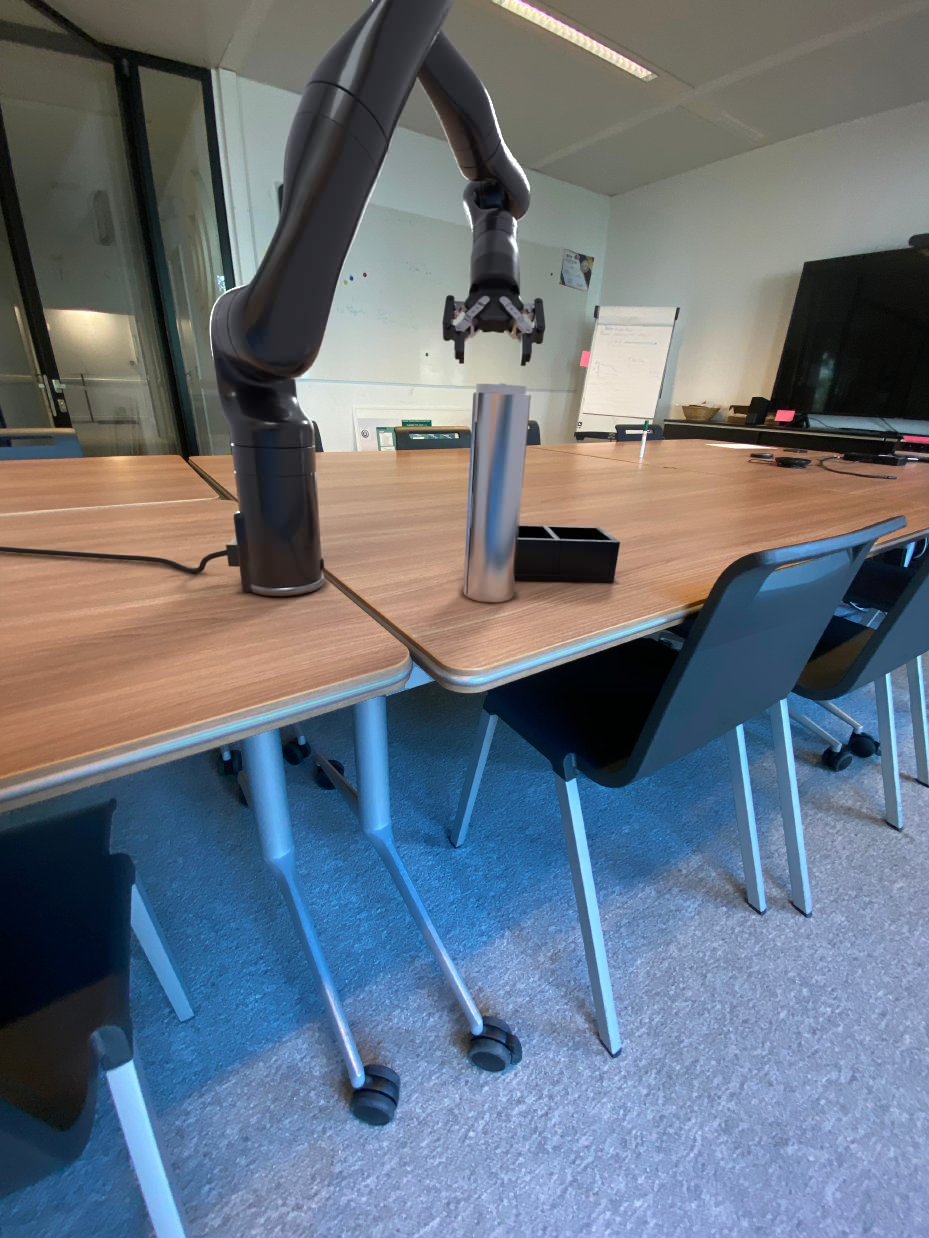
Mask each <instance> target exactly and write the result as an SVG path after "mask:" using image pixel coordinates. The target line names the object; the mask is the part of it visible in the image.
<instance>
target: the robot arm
mask: <svg viewBox="0 0 929 1238" xmlns="http://www.w3.org/2000/svg"><path fill="white" fill-rule="evenodd" d="M455 2H456V0H371V2H370V4H369V5H368V6H367V8H365V10H364V11H363V12H362V13H361V14H360V15H359V16H358V18H356V19H355V21H353V22H352V24H351V25H350V26H349V27H348V28H347V29H346V30H345V31H344V32H343V33H342V34H341V35H340V36H339V37H338V38H337V39H336V41H335V42H334V43H333V44H332V45H331V46H330V47H329V48H328V50H327V51H326V52H325V53H324V55H323V56H322V57H321V58H320V60H319V61H318V62H317V64H316V65H315V67H314V69H313V70H312V72H311V73H310V75H309V78H308V80H307V82H306V84H305V86H304V90H303V93H302V96H301V98H300V101H299V103H298V106H297V109H296V111H295V115H294V117H293V120H292V123H291V126H290V129H289V133H288V136H287V141H286V145H285V151H284V159H283V174H282V175H283V180H282V184H283V185H282V201H281V202H282V204H281V209H280V214H279V218H278V222H277V225H276V228H275V231H274V233H273V235H272V238H271V241H270V243H269V244H268V247H267V249H266V251H265V254H264V256H263V258H262V260H261V262H260V265H259V266H258V268H257V270H256V272H255V274H254V275H253V277H252V278H251V280H250V281H249V282H248V283H247V284H243V285H240V286H237V287H234V288H231V289H229V290H227V291H225V292H224V293H223V294H221V295H220V296H219V297H218V298H217V300H216V302H215V303H214V305H213V308H212V310H211V314H210V320H209V336H210V347H211V355H212V363H213V369H214V375H215V381H216V389H217V393H218V394H217V395H218V401H219V405H220V410H221V413H222V417H223V419H224V420H225V423H226V425H227V428H228V433H229V439H230V443H231V444H230V446H231V448H230V449H231V456H232V464H233V465H232V466H233V471H234V480H235V488H236V489H235V490H236V498H237V506H238V507H237V508H238V511H236V512H234V514H233V524H234V533H235V537H234V538H233V539H231V540H230V541H229V542H227V543H226V544H225V549H224V550H219V551H215V552H212V553H210V554H207V555H206V556H204V557H203V558H202V559H201V561H200V563H199V565H198V566H197V567H193V568H192V567H188V566H185V565H183V564H180V563H178V562H176V561H173V560H171V559H168V558H162V557H156V556H147V555H134V554H133V555H131V554H114V553H113V554H112V553H100V552H82V551H67V550H56V549H55V550H53V549H39V548H38V549H37V548H25V547H11V546H0V552H1V553H3V552H4V553H14V554H16V553H17V554H27V555H28V554H29V555H44V556H56V557H57V556H58V557H59V556H60V557H74V558H87V559H105V560H117V561H118V560H119V561H139V562H150V563H158V564H159V563H160V564H164V565H167V566H169V567H170V566H171V567H173V568H175V569H177V570H180V571H183V572H186V573H189V574H199V573H201V572H203V571H204V570H205V568H206V565H207V563H209V562H210V561H212V560H214V559H217V558H221V557H226V556H227V557H226V558H227V566H228V567H235V568H236V567H238V568H239V575H240V582H241V591H242V592H250V593H254V594H256V595H261V596H267V597H291V596H298V595H299V596H300V595H304V594H308V593H312V592H314V591H317V590H318V589H320V588H321V587H322V586H323V585H324V583H325V580H324V573H323V571H324V570H325V560H324V558H323V557H322V541H321V526H320V525H321V524H320V508H319V507H320V506H319V494H318V493H319V492H318V491H319V490H318V475H317V457H316V442H315V441H316V439H315V437H316V436H315V428H314V423H313V421H312V420H311V418H309V417H308V415H307V414H306V413H305V411H304V409H303V408H302V406H301V403H300V401H299V397H298V390H297V388H298V387H297V380H296V379H298V378H300V377H302V376H303V375H305V374H306V373H307V372H308V371H309V370H310V369H311V368H312V367H313V365H314V364H315V362H316V360H317V359H318V356H319V353H320V351H321V348H322V346H323V343H324V338H325V336H326V335H325V334H326V331H327V328H328V324H329V319H330V315H331V311H332V307H333V305H334V301H335V297H336V293H337V288H338V285H339V283H340V278H341V275H342V272H343V269H344V266H345V263H346V260H347V257H348V255H349V253H350V251H351V248H352V246H353V243H354V241H355V239H356V236H357V234H358V231H359V229H360V225H361V223H362V221H363V217H364V215H365V212H366V210H367V207H368V205H369V203H370V200H371V197H372V195H373V193H374V191H375V188H376V186H377V183H378V181H379V178H380V175H381V173H382V170H383V167H384V164H385V162H386V159H387V157H388V154H389V151H390V149H391V145H392V143H393V139H394V137H395V133H396V131H397V128H398V126H399V123H400V120H401V118H402V116H403V114H404V111H405V108H406V106H407V103H408V101H409V99H410V97H411V93H412V92H413V89H414V86H415V84H416V81H418V82H419V85H420V86H421V88H422V89H423V91H424V93H425V94H426V97H427V98H428V101H429V102H430V104H431V106H432V108H433V110H434V112H435V114H436V117H437V119H438V121H439V123H440V125H441V128H442V130H443V132H444V135H445V137H446V140H447V144H448V145H449V148H450V150H451V153H452V155H453V158H454V160H455V163H456V166H457V168H458V170H459V171H460V172H459V173H460V174H461V175H462V176H463V177H464V178H465V179H466V180H467V181H469V182H468V183H467V184H466V186H465V187H464V190H463V193H462V198H461V199H462V200H461V201H462V208H463V212H464V216H465V218H466V220H467V221H466V222H467V223H468V226H469V227H470V230H471V231H470V232H471V253H470V257H469V264H468V265H469V267H468V268H469V269H468V288H467V289H468V290H467V298H466V299H465V300H464V301H462V300H456V298H455V295H452V294H448V295H447V296H446V297H445V302H444V308H443V309H444V310H443V315H442V339H443V341H445V342H450V341H453V342H454V345H453V351H454V352H453V356H454V357H453V358H454V359H455V360H456V361H458V364H459V365H465V354H466V353H465V352H466V351H465V349H466V341H467V340H468V339H473V338H474V337H475V336H476V335H477V334H479V332H480V331H481V333H492V332H493V333H498V334H504V333H505V332H506V333H507V334H508V335H509V336H510V338H511V339H512V340H516V341H517V342H518V343H519V344H520V350H519V351H520V352H519V354H520V355H519V357H520V360H519V363H520V367H526V366H527V363H530V361H531V359H532V353H533V344H534V343H535V344H536V345H542V344H543V342H544V335H545V331H546V320H545V309H544V300H543V299H542V298H540V297H536V298H535V299H534V300H533V302H531V303H524V302H523V300H522V298H521V258H520V253H519V226H518V223H517V222H519V221H520V220H522V219H523V218H524V217H525V216H526V215H527V213H528V211H529V209H530V206H531V198H532V197H531V189H530V188H531V187H530V184H529V181H528V179H527V176H526V174H525V172H524V171H523V169H522V167H521V165H520V164H519V162H518V161H517V160H516V158H515V157H514V156H513V154H512V153H511V151H510V150H509V148H508V146H507V145H506V143H505V141H504V139H503V137H502V132H501V129H500V127H499V123H498V120H497V117H496V112H495V109H494V106H493V103H492V100H491V97H490V95H489V93H488V91H487V88H486V86H485V85H484V83H483V81H482V80H481V79H480V77H479V75H478V74H477V72H476V71H475V69H474V68H473V67H472V66H471V64H470V63H469V62H468V61H467V59H466V58H465V57H464V56H463V54H462V53H461V52H460V51H459V49H457V47H456V46H455V45H454V43H453V42H452V41H451V39H450V38H449V37H448V35H447V34H446V33H445V31H444V29H443V28H442V27H443V26H444V24H445V21H446V20H447V18H448V16H449V14H450V12H451V10H452V8H453V7H454V4H455ZM461 313H464V317H463V318H462V319H461V320H460V321H459V322H458V323H457V324H454V322H455V321H457V319H458V317H460V315H461ZM524 315H526V316H527V318H528V319H529V322H530V323H532V326H530V324H529V323H528V322H526V320H525V317H524Z"/></svg>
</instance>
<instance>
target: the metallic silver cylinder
mask: <svg viewBox="0 0 929 1238" xmlns="http://www.w3.org/2000/svg"><path fill="white" fill-rule="evenodd" d="M475 386H476V388H475V389H476V390H475V391H473V394H472V410H471V411H472V412H471V428H470V429H471V430H470V449H469V450H470V452H469V469H468V470H469V471H468V472H469V473H468V488H467V489H468V492H467V512H466V529H465V530H466V531H465V532H466V533H465V549H464V550H465V553H464V568H463V569H464V571H463V591H462V592H463V595H464V596H465V597H466V598H468V599H470V600H473V601H476V602H482V603H503V602H506V601H509V600H511V599H512V598H513V597H514V588H515V581H514V580H515V569H516V558H517V546H518V535H519V525H521V524H520V523H521V512H522V511H521V510H522V500H523V491H524V490H523V488H524V479H525V478H524V477H525V465H526V457H527V456H526V455H527V444H528V434H529V424H530V423H529V420H530V412H531V411H530V410H531V400H532V399H531V398H532V395H531V394H527V386H526V385H519V384H518V385H517V384H507V383H502V382H501V383H476V385H475Z"/></svg>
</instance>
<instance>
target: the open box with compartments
mask: <svg viewBox="0 0 929 1238" xmlns="http://www.w3.org/2000/svg"><path fill="white" fill-rule="evenodd" d="M620 545H621V541H619V539H616V538H615V537H614V536H613V535H611V534H610V533H608V532H607V531H606V530H604V529H603V528H602V527H601V526H582V525H581V526H580V525H579V526H578V525H577V526H576V525H543V524H542V525H540V524H519V535H518V546H517V558H516V569H515V580H514V582H540V583H541V582H542V583H543V582H544V583H545V582H546V583H547V582H548V583H591V584H592V583H594V584H596V583H598V584H614V583H615V576H616V570H617V564H618V559H619V552H620Z"/></svg>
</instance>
